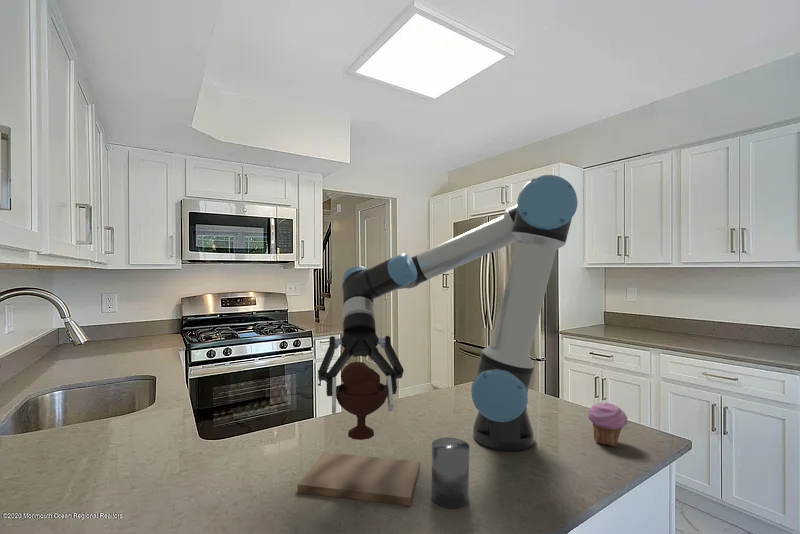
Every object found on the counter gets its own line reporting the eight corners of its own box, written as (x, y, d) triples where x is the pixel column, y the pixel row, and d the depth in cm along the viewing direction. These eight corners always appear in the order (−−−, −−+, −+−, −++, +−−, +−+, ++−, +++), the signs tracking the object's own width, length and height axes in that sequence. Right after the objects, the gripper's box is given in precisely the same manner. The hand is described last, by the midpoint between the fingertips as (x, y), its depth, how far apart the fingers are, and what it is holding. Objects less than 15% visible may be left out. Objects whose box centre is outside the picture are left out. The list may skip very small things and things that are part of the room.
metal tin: (468, 490, 78) (469, 439, 79) (468, 511, 72) (469, 455, 72) (433, 486, 80) (433, 436, 80) (429, 506, 73) (430, 451, 73)
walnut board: (419, 468, 87) (420, 461, 87) (410, 505, 73) (410, 497, 73) (323, 458, 91) (323, 452, 91) (297, 492, 77) (297, 484, 77)
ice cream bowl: (381, 448, 76) (382, 369, 76) (325, 442, 78) (326, 365, 78) (393, 426, 86) (394, 357, 86) (344, 422, 88) (345, 354, 88)
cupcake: (584, 443, 101) (584, 403, 101) (591, 432, 107) (592, 395, 108) (624, 453, 95) (624, 411, 95) (629, 441, 102) (629, 402, 102)
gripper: (404, 329, 99) (416, 415, 84) (309, 330, 95) (303, 420, 80) (409, 310, 94) (422, 398, 79) (308, 310, 90) (302, 402, 75)
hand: (362, 409), depth 79 cm, fingers closed on ice cream bowl, 11 cm apart
